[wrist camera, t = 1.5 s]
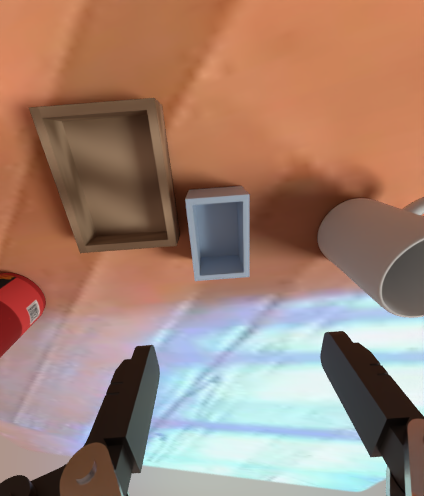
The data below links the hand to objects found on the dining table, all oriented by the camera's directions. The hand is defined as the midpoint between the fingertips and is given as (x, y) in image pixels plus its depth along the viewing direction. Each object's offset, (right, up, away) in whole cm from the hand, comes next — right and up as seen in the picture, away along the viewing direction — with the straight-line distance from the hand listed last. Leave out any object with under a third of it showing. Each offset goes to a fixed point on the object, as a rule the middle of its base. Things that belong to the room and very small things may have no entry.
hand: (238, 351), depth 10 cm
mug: (+17, +8, +17) cm, 26 cm away
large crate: (-11, +12, +14) cm, 22 cm away
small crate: (-1, +8, +17) cm, 18 cm away
